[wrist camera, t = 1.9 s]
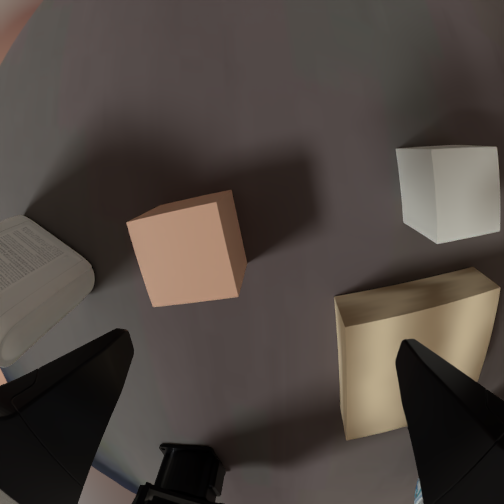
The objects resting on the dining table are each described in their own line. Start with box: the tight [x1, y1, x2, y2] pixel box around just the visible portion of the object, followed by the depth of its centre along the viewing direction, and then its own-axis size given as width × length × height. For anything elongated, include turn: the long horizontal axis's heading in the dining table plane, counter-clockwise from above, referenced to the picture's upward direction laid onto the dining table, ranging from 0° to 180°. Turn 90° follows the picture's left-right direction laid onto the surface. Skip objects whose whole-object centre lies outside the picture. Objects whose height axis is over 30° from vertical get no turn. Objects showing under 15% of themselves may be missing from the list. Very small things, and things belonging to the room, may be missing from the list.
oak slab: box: [334, 267, 501, 440], centre depth 19 cm, size 12×12×4 cm
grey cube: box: [396, 145, 500, 244], centre depth 15 cm, size 5×5×5 cm
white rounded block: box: [0, 215, 95, 367], centre depth 15 cm, size 10×4×12 cm, turn 62°
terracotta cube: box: [126, 190, 247, 307], centre depth 17 cm, size 5×5×5 cm
